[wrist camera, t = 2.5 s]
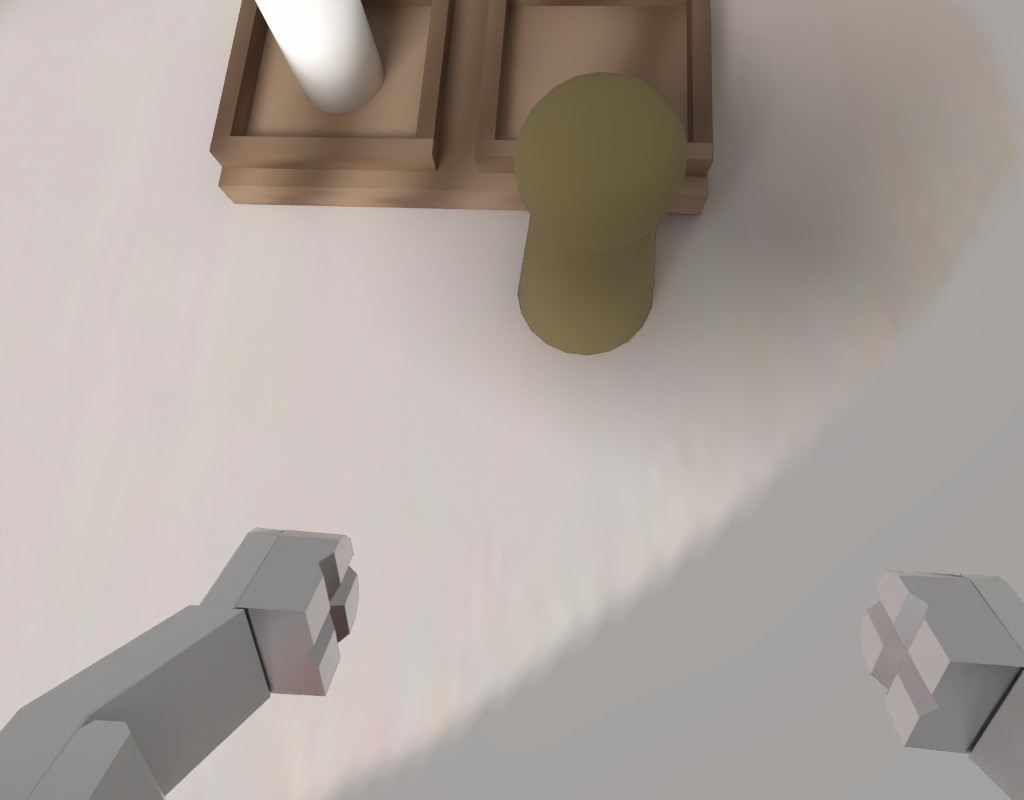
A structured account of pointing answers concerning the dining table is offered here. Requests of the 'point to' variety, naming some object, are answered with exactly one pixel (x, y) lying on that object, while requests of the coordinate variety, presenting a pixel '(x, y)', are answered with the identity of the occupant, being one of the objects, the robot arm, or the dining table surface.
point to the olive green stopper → (595, 207)
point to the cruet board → (451, 100)
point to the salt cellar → (327, 50)
